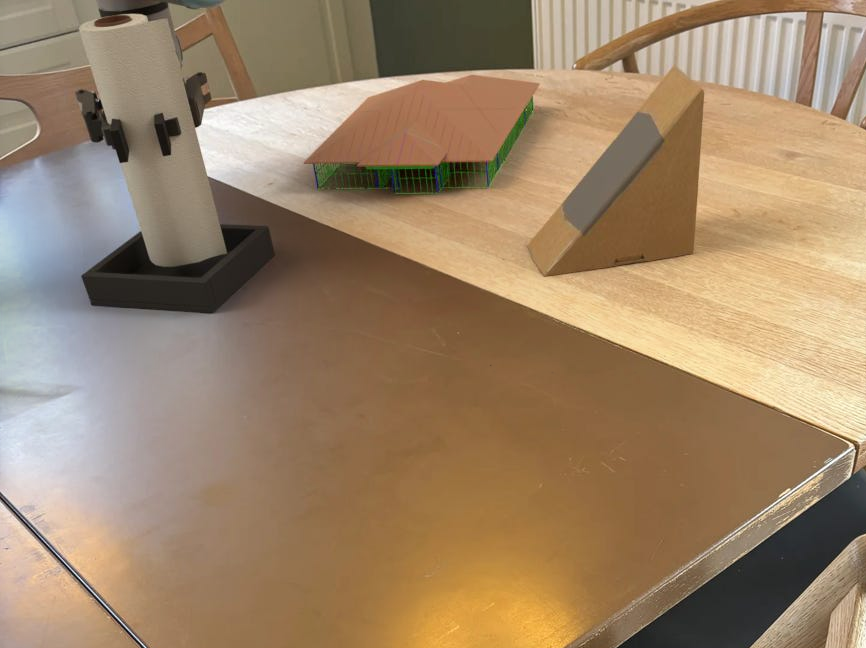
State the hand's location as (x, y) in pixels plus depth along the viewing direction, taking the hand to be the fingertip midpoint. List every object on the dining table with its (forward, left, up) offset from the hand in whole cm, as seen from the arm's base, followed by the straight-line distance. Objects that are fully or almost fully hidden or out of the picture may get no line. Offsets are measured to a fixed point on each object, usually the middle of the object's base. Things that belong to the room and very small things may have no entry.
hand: (141, 143), depth 91 cm
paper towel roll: (-2, +5, -13) cm, 14 cm away
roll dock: (-3, +5, -15) cm, 16 cm away
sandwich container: (+39, +17, -15) cm, 45 cm away
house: (+10, +45, -15) cm, 48 cm away
